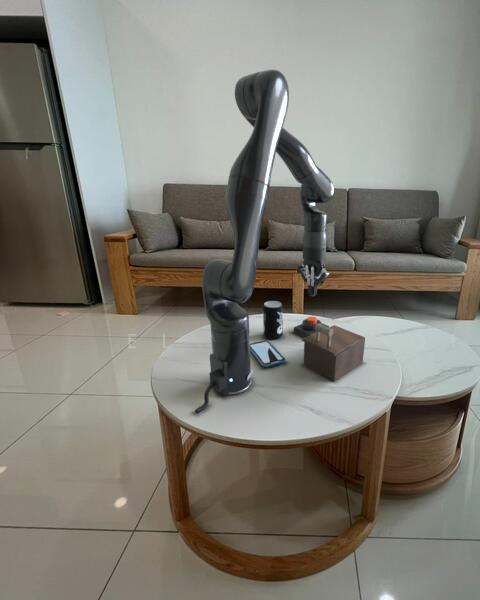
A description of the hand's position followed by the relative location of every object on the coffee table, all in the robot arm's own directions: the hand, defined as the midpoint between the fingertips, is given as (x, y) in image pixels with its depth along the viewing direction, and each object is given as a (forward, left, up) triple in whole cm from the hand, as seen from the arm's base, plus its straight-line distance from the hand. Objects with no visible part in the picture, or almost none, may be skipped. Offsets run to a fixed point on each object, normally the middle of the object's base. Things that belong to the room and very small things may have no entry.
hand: (312, 295), depth 109 cm
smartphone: (-21, -1, -14) cm, 26 cm away
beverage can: (-11, +7, -14) cm, 20 cm away
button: (+1, 0, -11) cm, 11 cm away
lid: (-11, -19, -6) cm, 22 cm away
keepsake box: (-10, -19, -14) cm, 26 cm away
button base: (+1, 0, -14) cm, 14 cm away
